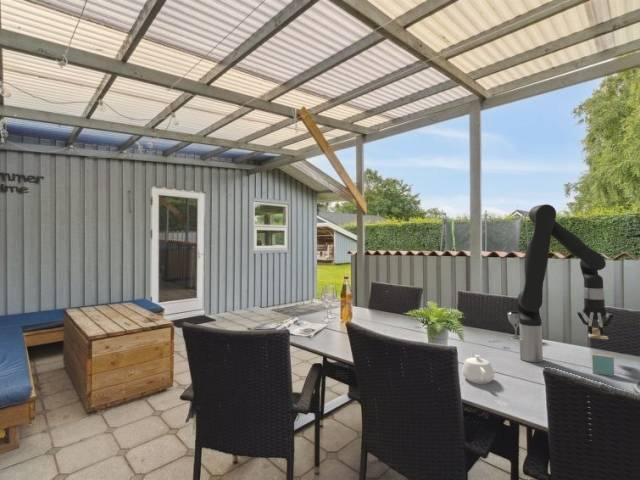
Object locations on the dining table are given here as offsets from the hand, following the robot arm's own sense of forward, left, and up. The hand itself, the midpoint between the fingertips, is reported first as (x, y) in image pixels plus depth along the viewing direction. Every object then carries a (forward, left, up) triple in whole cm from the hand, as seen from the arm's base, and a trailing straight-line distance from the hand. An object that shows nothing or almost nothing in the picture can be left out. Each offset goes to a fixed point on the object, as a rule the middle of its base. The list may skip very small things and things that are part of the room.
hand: (595, 334), depth 156 cm
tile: (0, -15, -9) cm, 18 cm away
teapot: (-45, -46, -13) cm, 66 cm away
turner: (0, -3, -1) cm, 3 cm away
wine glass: (-34, +29, -13) cm, 46 cm away
